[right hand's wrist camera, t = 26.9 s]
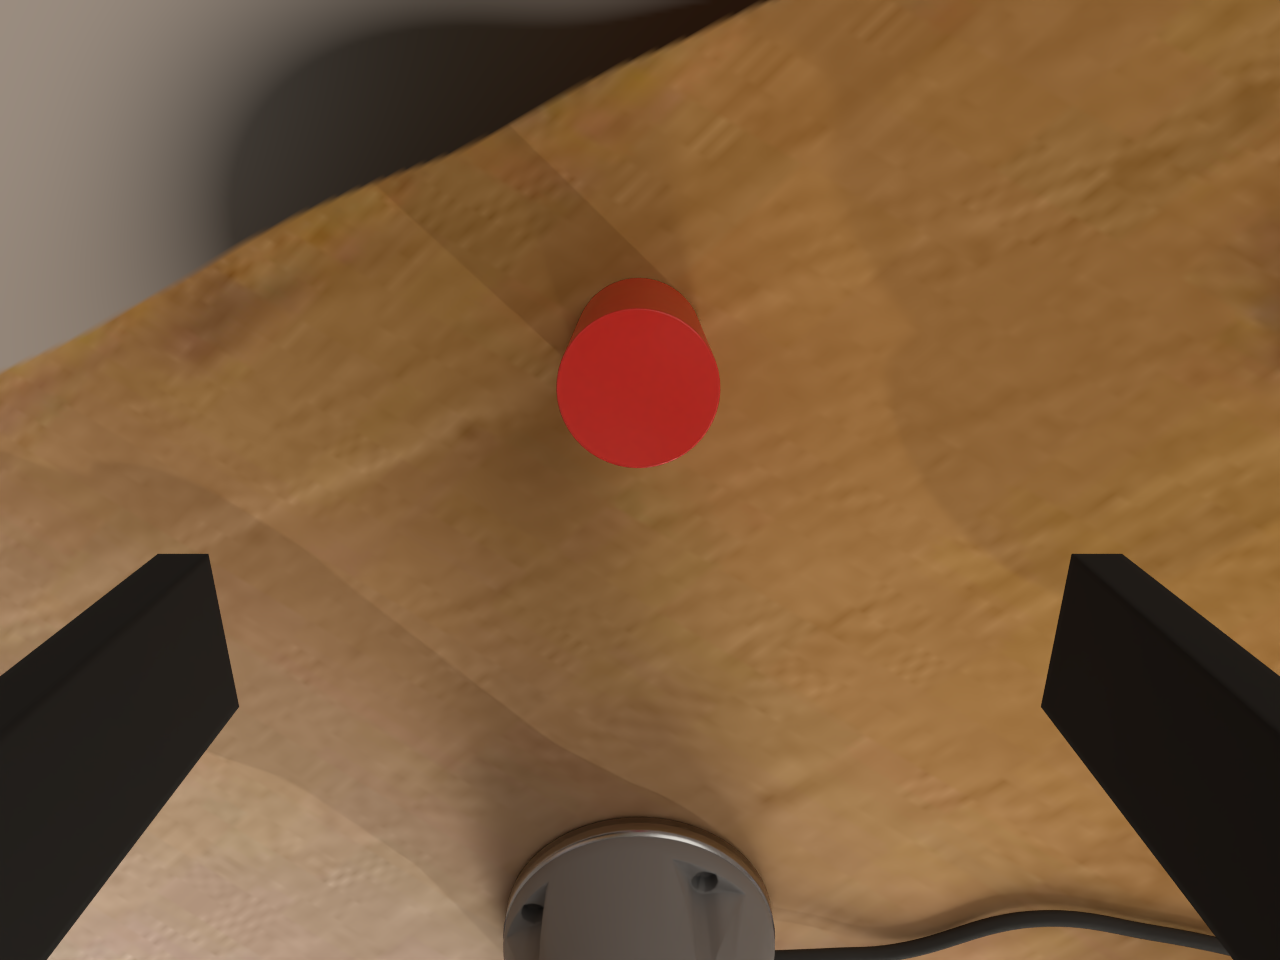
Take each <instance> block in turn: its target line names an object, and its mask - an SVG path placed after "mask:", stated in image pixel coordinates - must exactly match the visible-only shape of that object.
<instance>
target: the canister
mask: <svg viewBox="0 0 1280 960" xmlns="http://www.w3.org/2000/svg"><path fill="white" fill-rule="evenodd" d="M556 391H557V401H558V405H559V409H560V413H561V415H562V418H563V420H564V422H565V424H566V426H567V428H568V430H569V431H570V433H571V434H572V435H573V437H574V438H575V439H576V440H577V441H578V442H579V443H580V444H581V446H583V447H584V448H585V449H586V450H587V451H589V452H590V453H592V454H593V455H595V456H596V457H598V458H600V459H602V460H604V461H606V462H609V463H612V464H615V465H618V466H623V467H630V468H647V467H653V466H659V465H662V464H665V463H668V462H670V461H673V460H675V459H677V458H679V457H680V456H682V455H684V454H685V453H687V452H688V451H689V450H691V449H692V448H693V447H694V446H695V445H696V444H697V443H698V442H699V441H700V440H701V439H702V438H703V436H704V435H705V434H706V432H707V431H708V429H709V427H710V426H711V424H712V422H713V420H714V417H715V415H716V412H717V408H718V404H719V398H720V378H719V372H718V368H717V364H716V361H715V358H714V356H713V354H712V351H711V349H710V346H709V344H708V342H707V339H706V337H705V334H704V332H703V330H702V327H701V325H700V322H699V320H698V318H697V316H696V313H695V311H694V310H693V308H692V306H691V305H690V303H689V302H688V301H687V300H686V299H685V297H683V296H682V295H681V294H680V293H679V292H678V291H676V290H675V289H674V288H672V287H670V286H668V285H667V284H665V283H662V282H659V281H656V280H652V279H647V278H630V279H625V280H621V281H618V282H615V283H613V284H611V285H609V286H607V287H605V288H604V289H602V290H601V291H599V292H598V293H597V294H596V295H595V296H594V297H593V298H592V299H591V300H590V302H589V303H588V304H587V306H586V307H585V309H584V310H583V312H582V314H581V316H580V319H579V321H578V323H577V326H576V328H575V330H574V332H573V335H572V337H571V339H570V342H569V344H568V346H567V348H566V351H565V353H564V355H563V358H562V360H561V363H560V367H559V370H558V376H557V388H556Z"/></svg>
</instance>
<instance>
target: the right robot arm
mask: <svg viewBox="0 0 1280 960" xmlns="http://www.w3.org/2000/svg"><path fill="white" fill-rule="evenodd" d="M238 708H239V704H238V699H237V694H236V689H235V684H234V679H233V674H232V669H231V664H230V659H229V654H228V649H227V644H226V639H225V634H224V629H223V624H222V619H221V614H220V610H219V605H218V600H217V595H216V590H215V585H214V580H213V575H212V570H211V565H210V560H209V555H208V554H157V555H156V556H155V557H153V558H152V559H151V560H150V561H148V562H147V563H146V564H144V565H143V566H142V567H141V568H139V569H138V570H137V571H135V572H134V573H133V574H131V575H130V576H129V577H128V578H126V579H125V580H124V581H122V582H121V583H120V584H119V585H117V586H116V587H115V588H113V589H112V590H111V591H110V592H108V593H107V594H106V595H104V596H103V597H102V598H101V599H99V600H98V601H97V602H95V603H94V604H93V605H92V606H90V607H89V608H88V609H86V610H85V611H84V612H83V613H81V614H80V615H79V616H77V617H76V618H75V619H74V620H72V621H71V622H70V623H68V624H67V625H66V626H65V627H63V628H62V629H61V630H59V631H58V632H57V633H56V634H54V635H53V636H52V637H50V638H49V639H48V640H46V641H45V642H44V643H43V644H41V645H40V646H39V647H37V648H36V649H35V650H34V651H32V652H31V653H30V654H28V655H27V656H26V657H25V658H23V659H22V660H21V661H19V662H18V663H17V664H16V665H14V666H13V667H12V668H10V669H9V670H8V671H7V672H5V673H4V674H3V675H1V676H0V960H47V959H48V957H49V956H50V955H51V953H52V952H53V951H54V949H55V948H56V947H57V945H58V944H59V943H60V942H61V940H62V939H63V938H64V936H65V935H66V934H67V932H68V931H69V930H70V928H71V927H72V926H73V924H74V923H75V922H76V920H77V919H78V918H79V917H80V915H81V914H82V913H83V911H84V910H85V909H86V907H87V906H88V905H89V903H90V902H91V901H92V899H93V898H94V897H95V896H96V894H97V893H98V892H99V890H100V889H101V888H102V886H103V885H104V884H105V882H106V881H107V880H108V878H109V877H110V876H111V874H112V873H113V872H114V871H115V869H116V868H117V867H118V865H119V864H120V863H121V861H122V860H123V859H124V857H125V856H126V855H127V853H128V852H129V851H130V849H131V848H132V847H133V846H134V844H135V843H136V842H137V840H138V839H139V838H140V836H141V835H142V834H143V832H144V831H145V830H146V828H147V827H148V826H149V825H150V823H151V822H152V821H153V819H154V818H155V817H156V815H157V814H158V813H159V811H160V810H161V809H162V807H163V806H164V805H165V803H166V802H167V801H168V800H169V798H170V797H171V796H172V794H173V793H174V792H175V790H176V789H177V788H178V786H179V785H180V784H181V782H182V781H183V780H184V779H185V777H186V776H187V775H188V773H189V772H190V771H191V769H192V768H193V767H194V765H195V764H196V763H197V761H198V760H199V759H200V757H201V756H202V755H203V754H204V752H205V751H206V750H207V748H208V747H209V746H210V744H211V743H212V742H213V740H214V739H215V738H216V736H217V735H218V734H219V732H220V731H221V730H222V729H223V727H224V726H225V725H226V723H227V722H228V721H229V719H230V718H231V717H232V715H233V714H234V713H235V711H236V710H237V709H238ZM1041 708H1042V709H1043V710H1044V711H1045V713H1046V714H1047V715H1048V717H1049V718H1050V719H1051V721H1052V722H1053V723H1054V725H1055V726H1056V727H1057V729H1058V730H1059V731H1060V732H1061V734H1062V735H1063V736H1064V738H1065V739H1066V740H1067V742H1068V743H1069V744H1070V746H1071V747H1072V748H1073V750H1074V751H1075V752H1076V754H1077V755H1078V756H1079V757H1080V759H1081V760H1082V761H1083V763H1084V764H1085V765H1086V767H1087V768H1088V769H1089V771H1090V772H1091V773H1092V775H1093V776H1094V777H1095V779H1096V780H1097V781H1098V782H1099V784H1100V785H1101V786H1102V788H1103V789H1104V790H1105V792H1106V793H1107V794H1108V796H1109V797H1110V798H1111V800H1112V801H1113V802H1114V803H1115V805H1116V806H1117V807H1118V809H1119V810H1120V811H1121V813H1122V814H1123V815H1124V817H1125V818H1126V819H1127V821H1128V822H1129V823H1130V825H1131V826H1132V827H1133V828H1134V830H1135V831H1136V832H1137V834H1138V835H1139V836H1140V838H1141V839H1142V840H1143V842H1144V843H1145V844H1146V846H1147V847H1148V848H1149V849H1150V851H1151V852H1152V853H1153V855H1154V856H1155V857H1156V859H1157V860H1158V861H1159V863H1160V864H1161V865H1162V867H1163V868H1164V869H1165V871H1166V872H1167V873H1168V874H1169V876H1170V877H1171V878H1172V880H1173V881H1174V882H1175V884H1176V885H1177V886H1178V888H1179V889H1180V890H1181V892H1182V893H1183V894H1184V896H1185V897H1186V898H1187V899H1188V901H1189V902H1190V903H1191V905H1192V906H1193V907H1194V909H1195V910H1196V911H1197V913H1198V914H1199V915H1200V917H1201V918H1202V919H1203V920H1204V922H1205V923H1206V924H1207V926H1208V927H1209V928H1210V930H1211V931H1212V932H1213V934H1214V935H1215V936H1216V937H1214V936H1209V935H1205V934H1200V933H1195V932H1190V931H1185V930H1179V929H1174V928H1168V927H1162V926H1156V925H1151V924H1145V923H1139V922H1134V921H1129V920H1124V919H1119V918H1114V917H1109V916H1104V915H1098V914H1092V913H1086V912H1077V911H1063V910H1039V911H1025V912H1016V913H1009V914H1003V915H998V916H993V917H989V918H986V919H982V920H978V921H975V922H971V923H968V924H965V925H962V926H959V927H956V928H953V929H950V930H946V931H943V932H940V933H937V934H934V935H930V936H927V937H923V938H920V939H916V940H911V941H907V942H902V943H896V944H890V945H882V946H872V947H844V948H821V949H797V950H775V928H774V922H773V917H772V911H771V906H770V900H769V896H768V893H767V890H766V888H765V885H764V883H763V881H762V879H761V877H760V876H759V874H758V872H757V871H756V870H755V868H754V867H753V866H752V864H751V863H750V862H749V861H748V860H747V859H746V858H745V857H744V856H743V855H742V854H741V853H740V852H739V851H738V850H736V849H735V848H734V847H733V846H731V845H730V844H728V843H727V842H726V841H724V840H723V839H721V838H719V837H717V836H715V835H713V834H712V833H709V832H707V831H705V830H703V829H700V828H698V827H695V826H692V825H689V824H685V823H681V822H677V821H673V820H667V819H660V818H649V817H630V818H618V819H611V820H605V821H601V822H597V823H593V824H590V825H587V826H584V827H581V828H578V829H576V830H573V831H571V832H569V833H567V834H565V835H563V836H561V837H559V838H557V839H556V840H554V841H553V842H551V843H550V844H548V845H547V846H546V847H544V848H543V849H542V850H541V851H539V852H538V853H537V854H536V855H535V856H534V857H533V858H532V859H531V860H530V861H529V862H528V864H527V865H526V866H525V867H524V868H523V870H522V871H521V873H520V875H519V876H518V878H517V880H516V882H515V884H514V886H513V888H512V891H511V894H510V897H509V902H508V907H507V912H506V918H505V923H504V934H503V939H504V942H503V950H504V960H901V959H907V958H912V957H916V956H921V955H925V954H929V953H932V952H936V951H939V950H942V949H946V948H949V947H952V946H955V945H958V944H961V943H964V942H968V941H971V940H974V939H977V938H981V937H984V936H988V935H991V934H995V933H1000V932H1004V931H1009V930H1016V929H1022V928H1033V927H1075V928H1085V929H1092V930H1099V931H1104V932H1110V933H1115V934H1120V935H1125V936H1130V937H1135V938H1140V939H1146V940H1151V941H1157V942H1163V943H1169V944H1175V945H1181V946H1186V947H1191V948H1196V949H1201V950H1206V951H1211V952H1216V953H1220V954H1225V955H1229V956H1231V957H1232V959H1233V960H1280V676H1279V675H1277V674H1276V673H1275V672H1273V671H1272V670H1271V669H1270V668H1268V667H1267V666H1266V665H1264V664H1263V663H1262V662H1261V661H1259V660H1258V659H1257V658H1255V657H1254V656H1253V655H1252V654H1250V653H1249V652H1248V651H1246V650H1245V649H1244V648H1243V647H1241V646H1240V645H1239V644H1237V643H1236V642H1235V641H1234V640H1232V639H1231V638H1230V637H1228V636H1227V635H1226V634H1224V633H1223V632H1222V631H1221V630H1219V629H1218V628H1217V627H1215V626H1214V625H1213V624H1212V623H1210V622H1209V621H1208V620H1206V619H1205V618H1204V617H1203V616H1201V615H1200V614H1199V613H1197V612H1196V611H1195V610H1194V609H1192V608H1191V607H1190V606H1188V605H1187V604H1186V603H1185V602H1183V601H1182V600H1181V599H1179V598H1178V597H1177V596H1176V595H1174V594H1173V593H1172V592H1170V591H1169V590H1168V589H1167V588H1165V587H1164V586H1163V585H1161V584H1160V583H1159V582H1158V581H1156V580H1155V579H1154V578H1152V577H1151V576H1150V575H1148V574H1147V573H1146V572H1145V571H1143V570H1142V569H1141V568H1139V567H1138V566H1137V565H1136V564H1134V563H1133V562H1132V561H1130V560H1129V559H1128V558H1127V557H1125V556H1124V555H1123V554H1072V555H1071V560H1070V565H1069V570H1068V575H1067V580H1066V585H1065V590H1064V595H1063V600H1062V605H1061V610H1060V614H1059V619H1058V624H1057V629H1056V634H1055V639H1054V644H1053V649H1052V654H1051V659H1050V664H1049V669H1048V674H1047V679H1046V684H1045V689H1044V694H1043V699H1042V704H1041Z"/></svg>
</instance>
